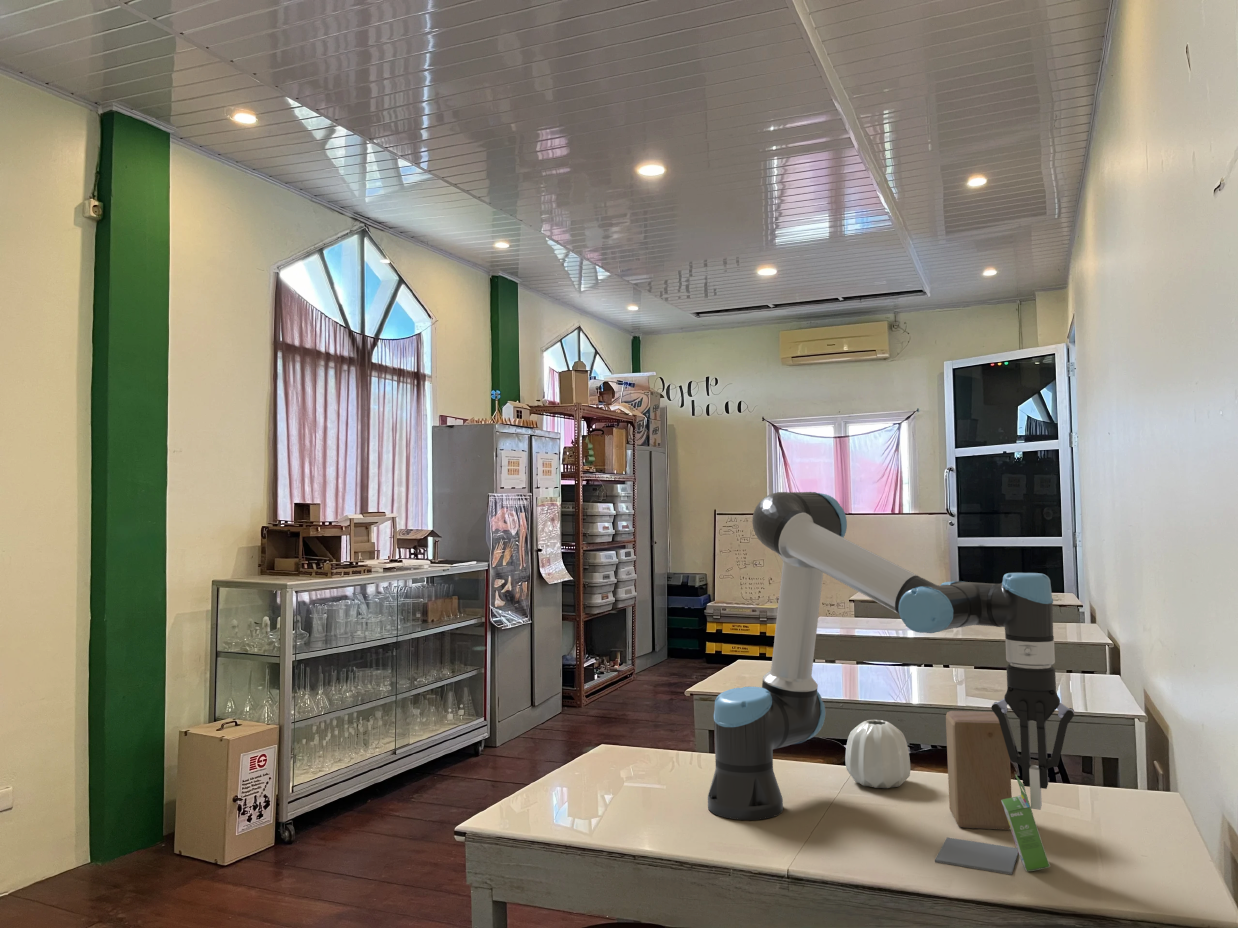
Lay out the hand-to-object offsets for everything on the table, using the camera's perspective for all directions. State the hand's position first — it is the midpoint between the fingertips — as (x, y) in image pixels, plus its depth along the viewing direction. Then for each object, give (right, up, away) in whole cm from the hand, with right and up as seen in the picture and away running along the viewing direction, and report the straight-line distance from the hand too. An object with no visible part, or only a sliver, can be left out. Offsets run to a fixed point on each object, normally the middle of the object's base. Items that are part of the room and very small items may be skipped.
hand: (1036, 806), depth 149 cm
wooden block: (-1, -11, +21) cm, 24 cm away
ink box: (0, -9, 0) cm, 9 cm away
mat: (-8, -10, +4) cm, 14 cm away
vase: (-13, -13, +47) cm, 50 cm away
